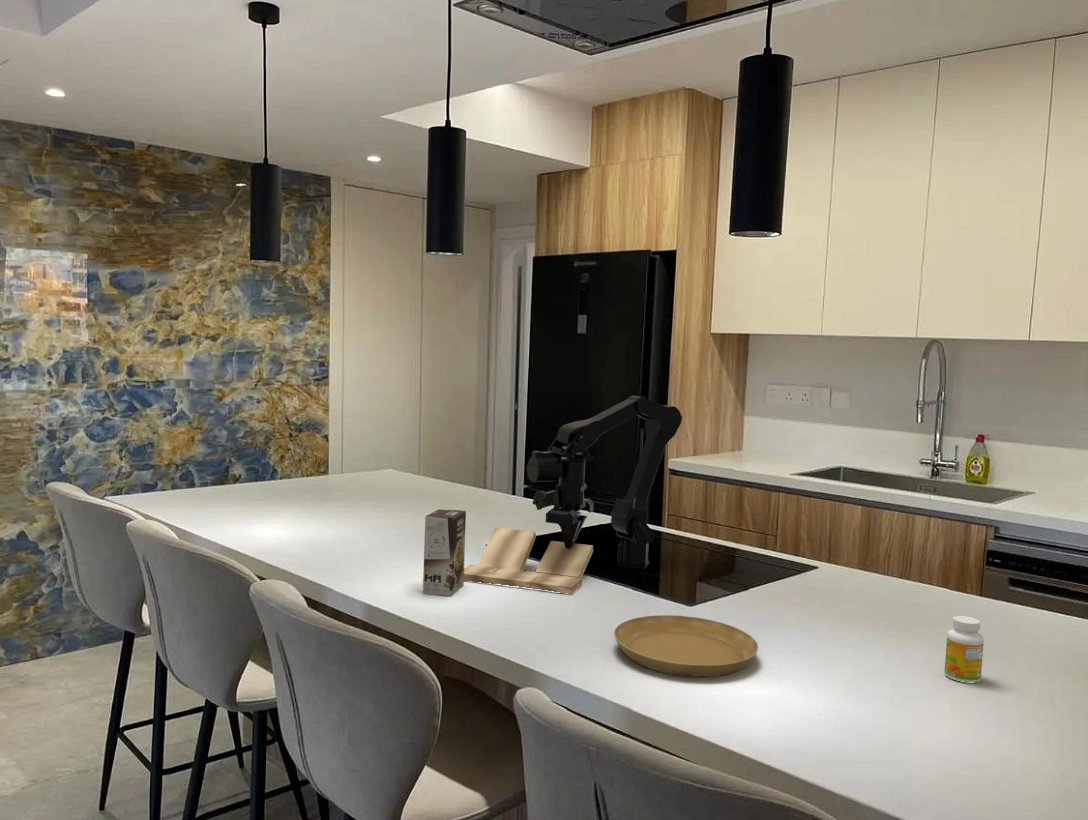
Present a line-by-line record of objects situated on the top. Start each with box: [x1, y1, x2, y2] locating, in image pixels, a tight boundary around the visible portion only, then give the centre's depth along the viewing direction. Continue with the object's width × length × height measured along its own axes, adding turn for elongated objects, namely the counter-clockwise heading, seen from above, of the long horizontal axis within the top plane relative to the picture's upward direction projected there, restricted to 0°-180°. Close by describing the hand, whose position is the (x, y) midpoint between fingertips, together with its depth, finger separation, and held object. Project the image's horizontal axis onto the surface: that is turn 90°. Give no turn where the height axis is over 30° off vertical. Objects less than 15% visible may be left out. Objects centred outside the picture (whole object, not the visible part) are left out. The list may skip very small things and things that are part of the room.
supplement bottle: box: [943, 615, 985, 683], centre depth 141 cm, size 5×5×10 cm
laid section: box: [464, 564, 583, 595], centre depth 187 cm, size 26×8×2 cm, turn 72°
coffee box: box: [422, 509, 467, 597], centre depth 180 cm, size 9×6×16 cm
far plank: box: [477, 527, 537, 571], centre depth 199 cm, size 10×12×2 cm
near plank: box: [534, 540, 594, 579], centre depth 195 cm, size 10×12×2 cm
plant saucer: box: [613, 614, 759, 677], centre depth 147 cm, size 24×24×3 cm
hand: (568, 547), depth 198 cm, fingers closed
